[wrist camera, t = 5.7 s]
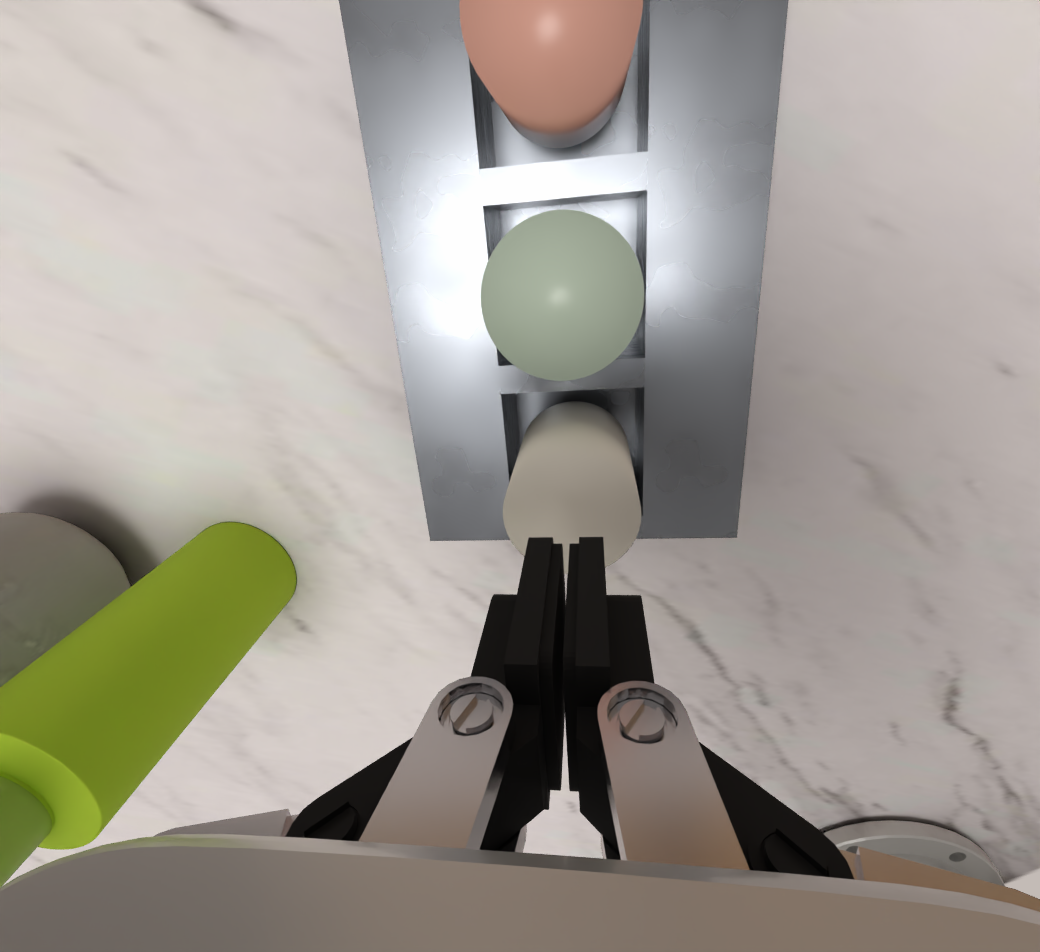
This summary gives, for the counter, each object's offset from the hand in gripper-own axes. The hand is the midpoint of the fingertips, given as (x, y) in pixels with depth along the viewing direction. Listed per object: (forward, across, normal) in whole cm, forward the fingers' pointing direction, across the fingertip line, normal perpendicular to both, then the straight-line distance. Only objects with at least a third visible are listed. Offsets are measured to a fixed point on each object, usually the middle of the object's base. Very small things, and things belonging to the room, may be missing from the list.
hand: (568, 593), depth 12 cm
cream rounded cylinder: (+9, 0, 0) cm, 9 cm away
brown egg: (+10, 0, -12) cm, 15 cm away
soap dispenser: (+13, +18, +8) cm, 24 cm away
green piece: (+9, 0, -6) cm, 11 cm away
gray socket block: (+13, 0, -6) cm, 14 cm away
